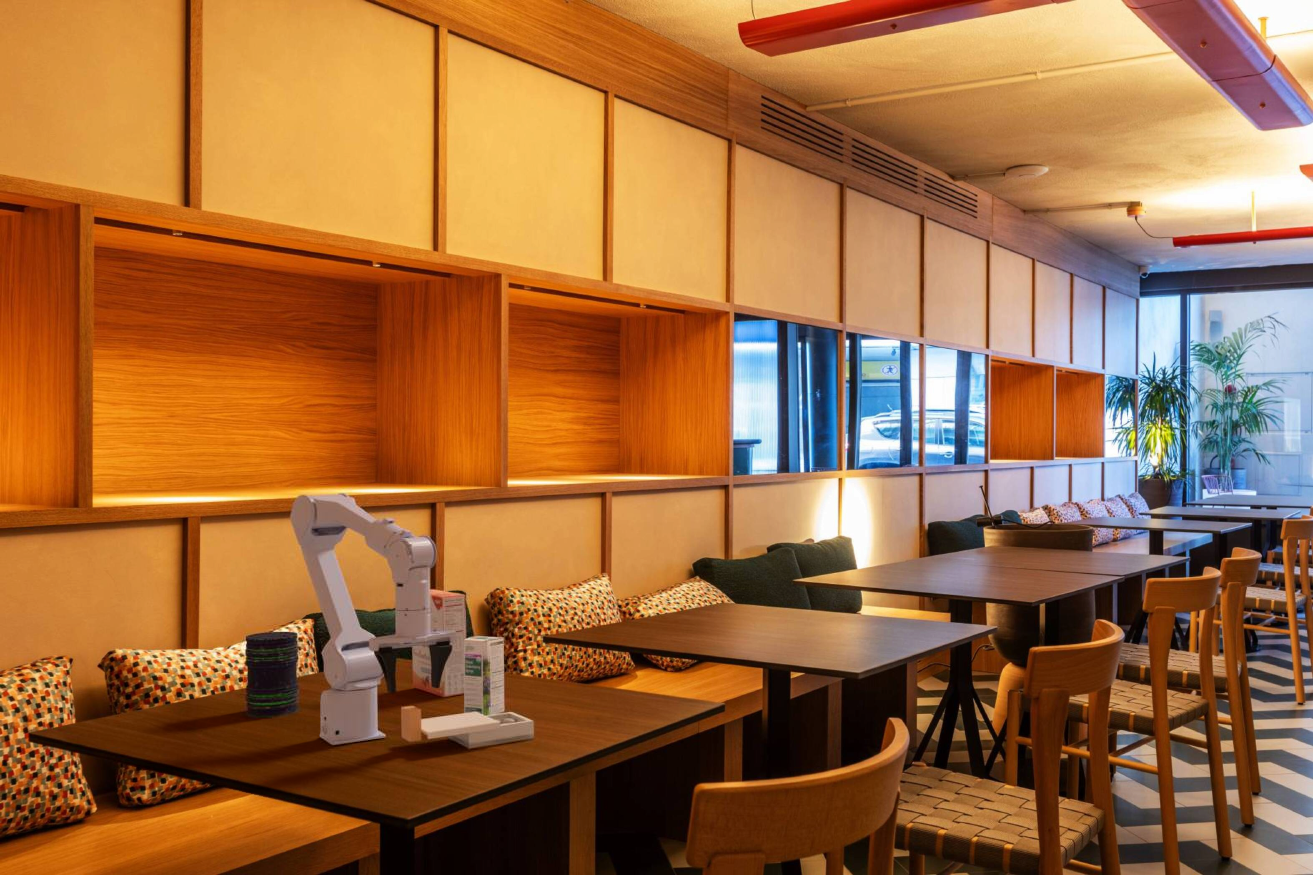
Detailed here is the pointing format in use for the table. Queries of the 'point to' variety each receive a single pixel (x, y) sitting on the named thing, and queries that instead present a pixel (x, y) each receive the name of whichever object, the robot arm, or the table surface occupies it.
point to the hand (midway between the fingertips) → (413, 689)
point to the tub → (499, 731)
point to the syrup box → (484, 675)
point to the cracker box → (446, 617)
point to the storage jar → (271, 674)
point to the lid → (442, 724)
